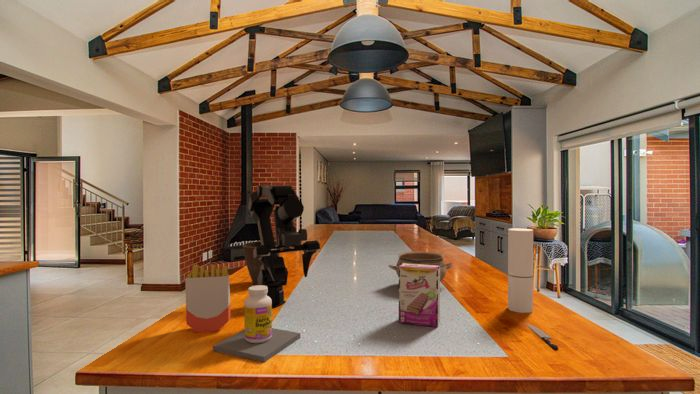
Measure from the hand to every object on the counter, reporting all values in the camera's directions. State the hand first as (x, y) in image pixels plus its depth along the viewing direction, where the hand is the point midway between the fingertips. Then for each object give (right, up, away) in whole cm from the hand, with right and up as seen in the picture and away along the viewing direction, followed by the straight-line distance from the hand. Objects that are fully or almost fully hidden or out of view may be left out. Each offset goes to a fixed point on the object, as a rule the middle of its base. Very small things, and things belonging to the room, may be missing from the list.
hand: (290, 278), depth 110 cm
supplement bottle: (-6, -12, -15) cm, 20 cm away
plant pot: (-18, -12, +45) cm, 50 cm away
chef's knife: (+67, -13, -10) cm, 69 cm away
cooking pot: (+44, -11, +37) cm, 59 cm away
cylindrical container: (+70, -12, +10) cm, 72 cm away
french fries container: (-22, -13, -4) cm, 26 cm away
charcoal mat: (-6, -13, -15) cm, 20 cm away
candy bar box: (+37, -12, -1) cm, 39 cm away
